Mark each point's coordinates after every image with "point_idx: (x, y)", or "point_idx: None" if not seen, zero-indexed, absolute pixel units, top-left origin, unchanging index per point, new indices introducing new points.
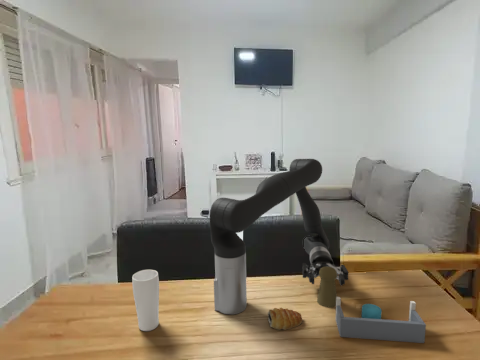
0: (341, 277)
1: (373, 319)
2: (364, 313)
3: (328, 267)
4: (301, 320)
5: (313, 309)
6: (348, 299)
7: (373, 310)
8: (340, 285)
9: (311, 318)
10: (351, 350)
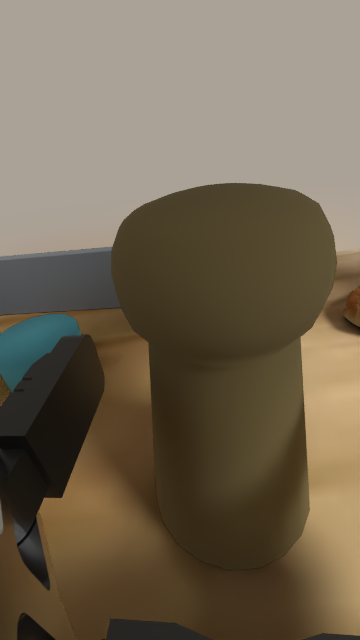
0: (57, 356)
1: (99, 250)
2: (80, 334)
3: (205, 196)
4: (346, 307)
5: (314, 395)
6: (50, 534)
7: (37, 328)
8: (102, 391)
9: (310, 342)
10: None
